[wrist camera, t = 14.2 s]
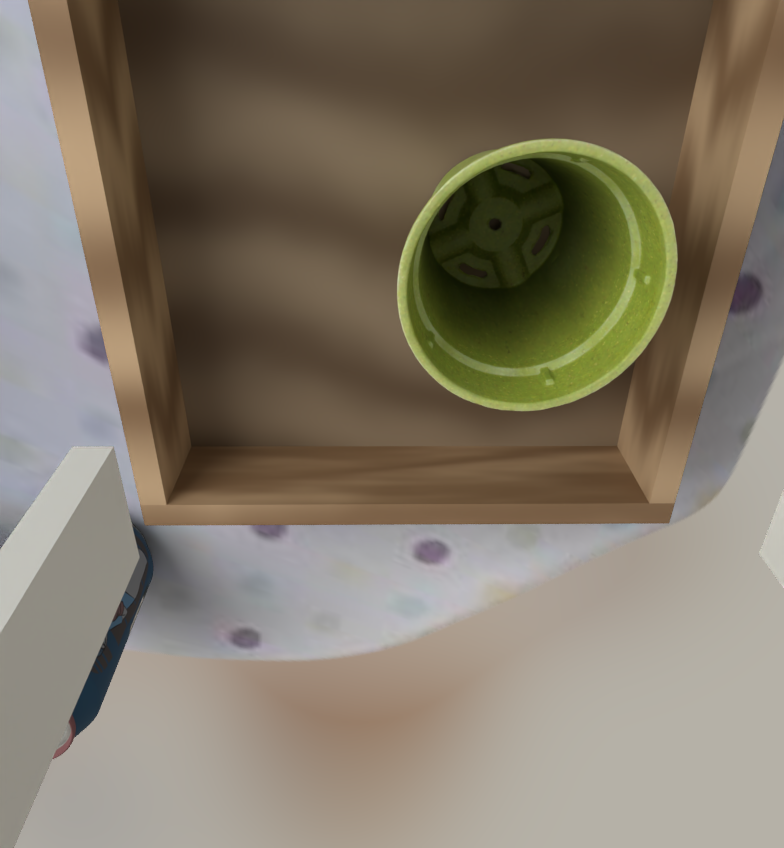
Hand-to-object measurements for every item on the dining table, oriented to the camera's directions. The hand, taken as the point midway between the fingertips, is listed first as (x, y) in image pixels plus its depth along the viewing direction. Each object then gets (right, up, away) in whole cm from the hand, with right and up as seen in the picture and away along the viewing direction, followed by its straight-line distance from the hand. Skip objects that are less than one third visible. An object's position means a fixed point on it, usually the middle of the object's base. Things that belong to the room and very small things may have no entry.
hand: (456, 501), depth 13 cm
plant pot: (+3, +11, +17) cm, 20 cm away
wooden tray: (0, +11, +18) cm, 21 cm away
